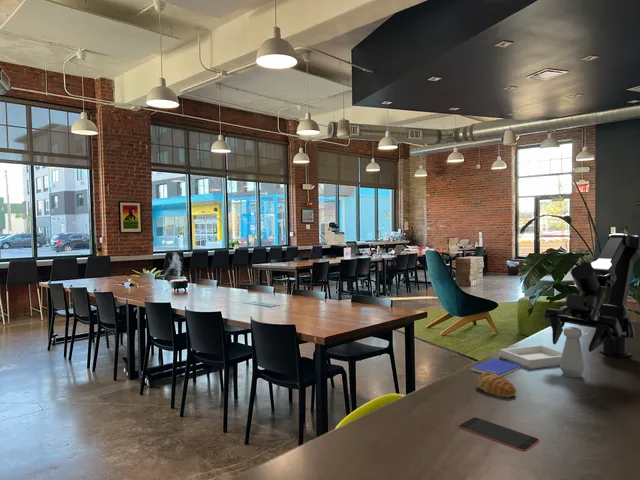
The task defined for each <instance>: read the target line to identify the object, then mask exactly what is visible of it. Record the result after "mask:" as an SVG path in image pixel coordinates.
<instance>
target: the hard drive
mask: <svg viewBox="0 0 640 480" xmlns="http://www.w3.org/2000/svg"><path fill="white" fill-rule="evenodd" d="M519 369H521V366H520V365H518V364H515V363H513V362H510V361H506V360H505V361H504V360H499V359H495V358H494V359H490V360H488V361H485V362H482V363H479V364H476V365H474V366H471V367H470V371H471V372H476V373H479V374H481V375H482V374H483V373H487V372H488V373H491V374H492V375H499V376H500V377H503V376H506V375H508V374H510V373H513V372H515V371H518V370H519Z"/></svg>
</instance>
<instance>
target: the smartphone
mask: <svg viewBox="0 0 640 480" xmlns="http://www.w3.org/2000/svg"><path fill="white" fill-rule="evenodd" d="M457 427H458V428H459V429H462V430H464V431H467V432H469V433H472V434H474V435H477V436H480V437H482V438H486V439H488V440H490V441H493V442H497V443H498V444H502V445H505V446H507V447H510V448H512V447H513V448H512V449H516V450H518V451H520V450H521V452H527V450H528V449H529V450H531V449H532V448H533V447H535V446H536V445H537V444H539V443H540V442H541V441H540V439H539V438H538V437H535V436H533V435H529V434H526V433H523V432H520V431H518V430H514V429H511V428H508V427H506V426H503V425H500V424H497V423H494V422H491V421H489V420H485V419H482V418H479V417H471V418H469V419H467V420H465V421H463V422H461V423H460V424H458V426H457ZM529 450H528V451H529Z"/></svg>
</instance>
